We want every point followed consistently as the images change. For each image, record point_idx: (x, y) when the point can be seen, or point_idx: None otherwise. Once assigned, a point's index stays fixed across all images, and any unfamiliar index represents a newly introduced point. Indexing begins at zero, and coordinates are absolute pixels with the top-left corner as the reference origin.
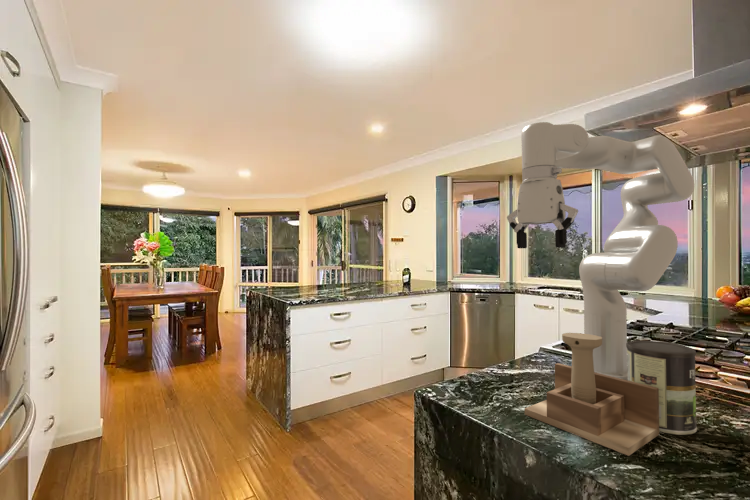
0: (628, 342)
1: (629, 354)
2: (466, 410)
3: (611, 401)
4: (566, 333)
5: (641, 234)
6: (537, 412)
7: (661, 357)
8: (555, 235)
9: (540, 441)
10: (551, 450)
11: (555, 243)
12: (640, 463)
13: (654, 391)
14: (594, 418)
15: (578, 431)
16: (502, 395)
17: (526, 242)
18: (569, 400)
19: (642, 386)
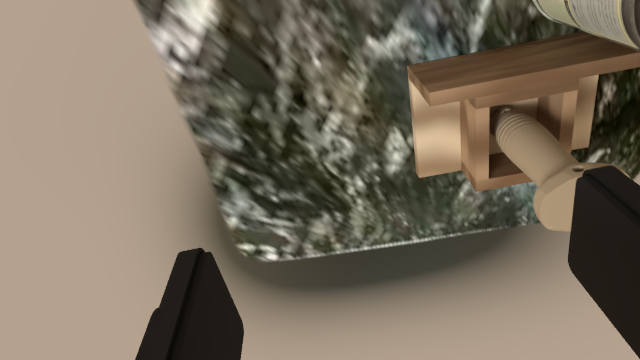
0: (635, 11)
1: (628, 41)
2: (356, 239)
3: (573, 127)
4: (545, 207)
5: None
6: (442, 170)
7: None
8: (634, 349)
9: (485, 211)
10: (507, 216)
11: (585, 288)
12: (598, 145)
13: None
14: None
15: None
16: (331, 148)
17: (200, 290)
18: (519, 182)
19: (628, 68)
